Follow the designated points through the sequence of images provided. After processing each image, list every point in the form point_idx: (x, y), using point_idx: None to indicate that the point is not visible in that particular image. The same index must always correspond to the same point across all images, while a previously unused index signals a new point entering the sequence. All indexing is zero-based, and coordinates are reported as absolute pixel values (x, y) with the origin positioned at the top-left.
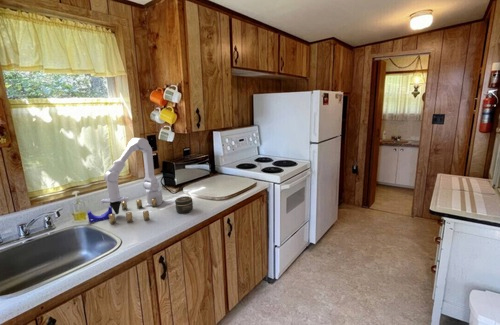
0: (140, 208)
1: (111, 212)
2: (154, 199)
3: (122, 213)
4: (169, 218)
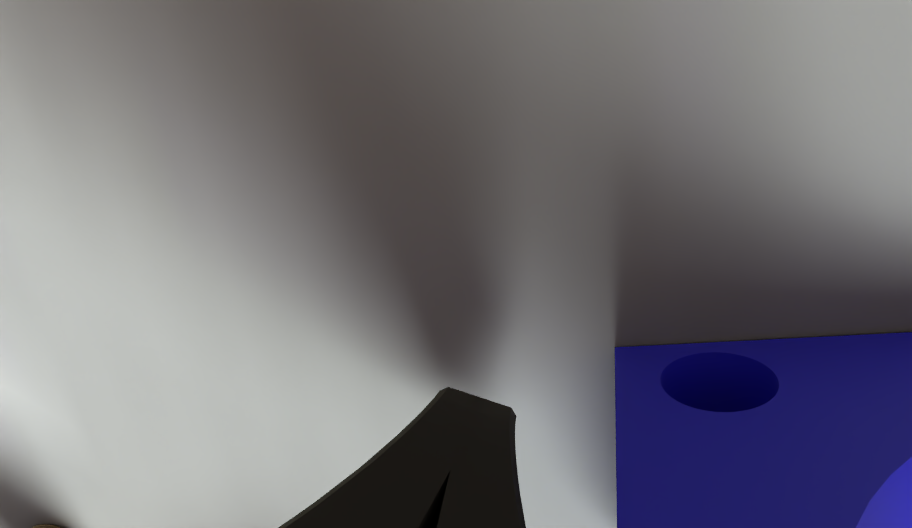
0: (40, 525)
1: (663, 487)
2: None
3: None
4: None
